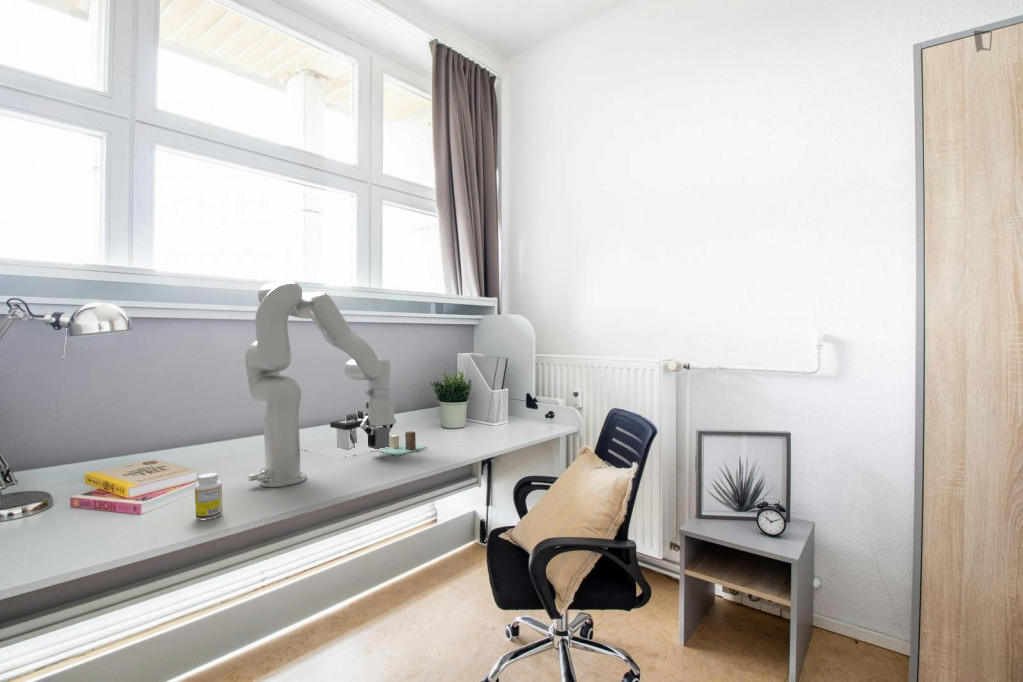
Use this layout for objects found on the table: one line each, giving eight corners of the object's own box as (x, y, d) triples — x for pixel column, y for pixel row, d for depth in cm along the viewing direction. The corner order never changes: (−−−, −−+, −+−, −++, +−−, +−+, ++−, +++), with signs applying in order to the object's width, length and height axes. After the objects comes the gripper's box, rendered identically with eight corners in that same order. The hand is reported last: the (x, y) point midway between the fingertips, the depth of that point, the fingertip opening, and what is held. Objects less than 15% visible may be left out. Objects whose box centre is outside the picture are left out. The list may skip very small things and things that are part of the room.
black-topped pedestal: (341, 460, 169) (340, 422, 168) (300, 450, 184) (299, 415, 184) (403, 444, 191) (402, 410, 191) (362, 436, 207) (361, 405, 206)
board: (397, 456, 172) (396, 441, 172) (378, 452, 178) (378, 438, 178) (426, 448, 183) (426, 434, 183) (408, 444, 189) (408, 431, 189)
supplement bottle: (205, 512, 120) (204, 471, 120) (227, 512, 120) (226, 471, 120) (190, 521, 115) (188, 478, 114) (213, 521, 115) (212, 478, 114)
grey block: (376, 449, 168) (377, 429, 168) (367, 447, 171) (367, 428, 171) (389, 446, 172) (389, 428, 172) (379, 444, 175) (380, 426, 175)
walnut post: (410, 450, 177) (409, 433, 177) (405, 449, 179) (405, 432, 179) (415, 449, 179) (415, 432, 179) (411, 448, 181) (410, 431, 181)
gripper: (365, 395, 163) (364, 449, 162) (404, 392, 176) (404, 442, 176) (351, 394, 167) (351, 447, 167) (391, 391, 181) (391, 439, 180)
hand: (378, 444), depth 171 cm, fingers closed on grey block, 5 cm apart
